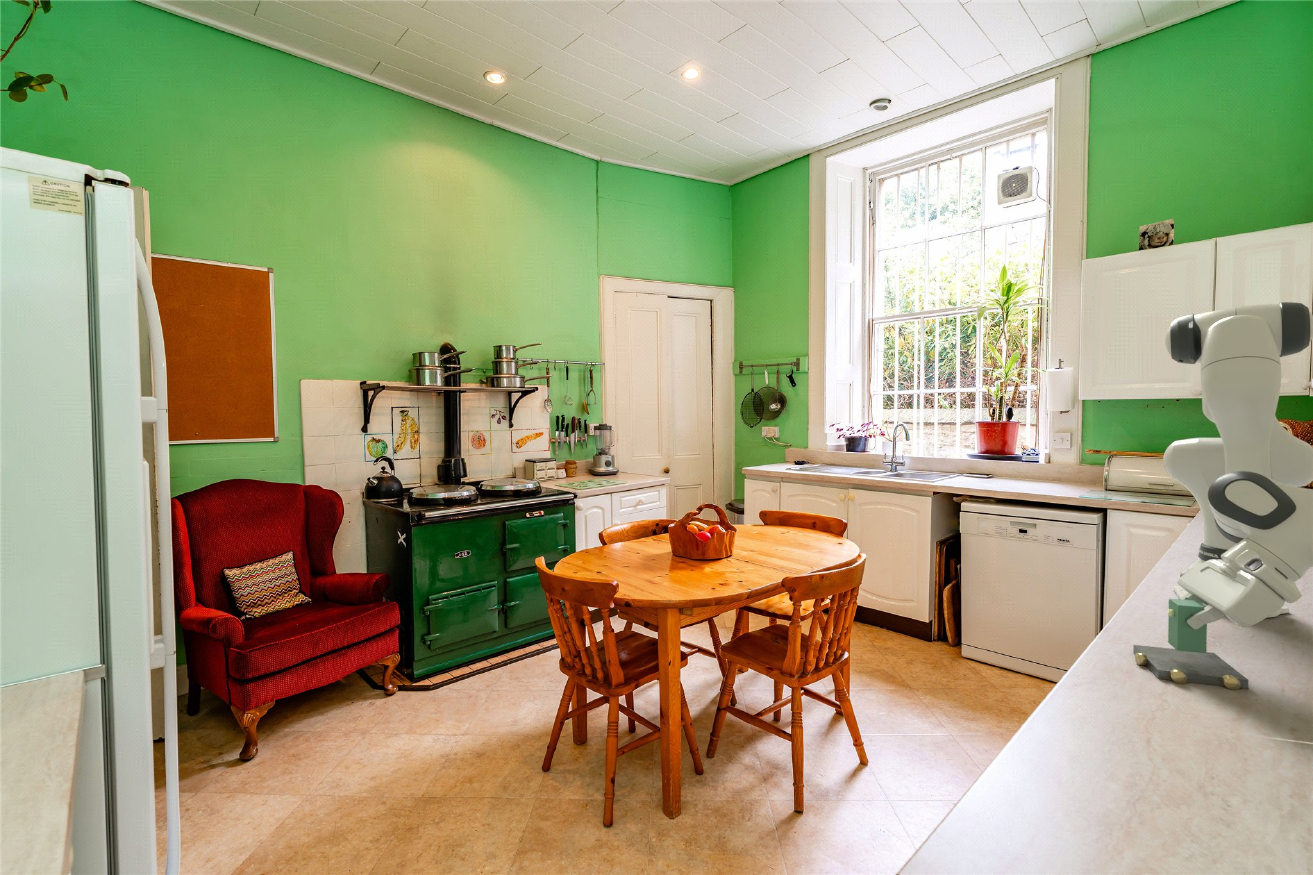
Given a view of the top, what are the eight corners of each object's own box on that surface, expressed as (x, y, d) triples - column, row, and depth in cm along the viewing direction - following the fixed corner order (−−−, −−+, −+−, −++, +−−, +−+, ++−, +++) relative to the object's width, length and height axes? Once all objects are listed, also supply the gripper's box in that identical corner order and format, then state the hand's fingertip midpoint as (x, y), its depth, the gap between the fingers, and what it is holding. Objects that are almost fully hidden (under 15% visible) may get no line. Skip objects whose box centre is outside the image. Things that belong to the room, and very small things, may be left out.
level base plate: (1125, 651, 116) (1125, 641, 116) (1213, 660, 112) (1213, 649, 111) (1152, 680, 104) (1152, 668, 104) (1252, 692, 99) (1252, 679, 99)
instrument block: (1164, 642, 111) (1164, 598, 111) (1196, 645, 109) (1196, 600, 109) (1173, 650, 107) (1173, 604, 107) (1206, 653, 105) (1207, 607, 105)
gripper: (1210, 543, 114) (1145, 590, 118) (1271, 569, 95) (1191, 624, 99) (1240, 568, 113) (1173, 615, 117) (1308, 600, 94) (1226, 655, 98)
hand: (1182, 620), depth 108 cm, fingers closed on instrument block, 4 cm apart
